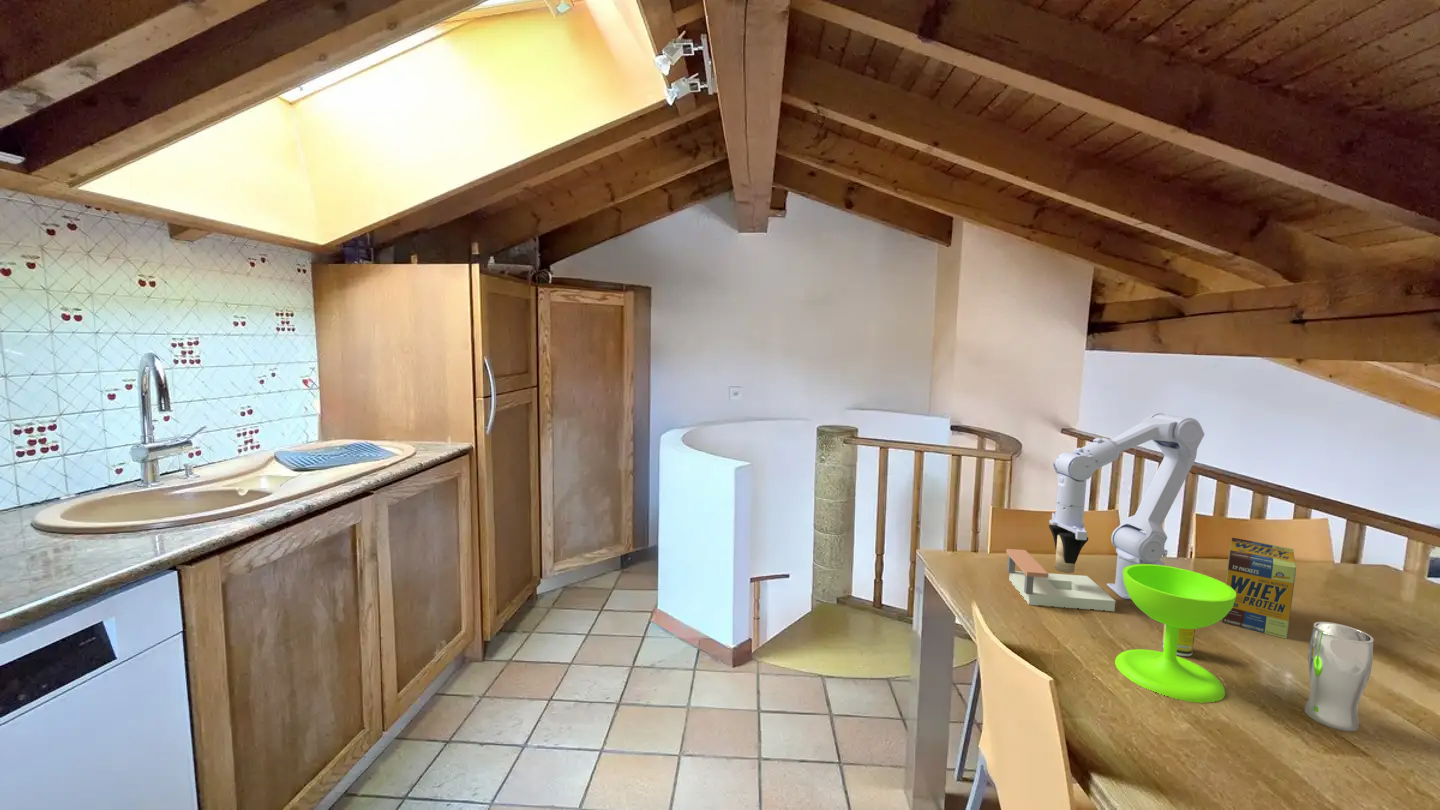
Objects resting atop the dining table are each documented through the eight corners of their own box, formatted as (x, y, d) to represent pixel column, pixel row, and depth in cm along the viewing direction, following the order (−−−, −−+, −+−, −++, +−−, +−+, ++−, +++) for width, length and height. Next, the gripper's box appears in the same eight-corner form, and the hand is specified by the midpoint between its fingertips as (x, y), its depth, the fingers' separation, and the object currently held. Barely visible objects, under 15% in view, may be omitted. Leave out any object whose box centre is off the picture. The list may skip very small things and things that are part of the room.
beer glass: (1288, 706, 97) (1299, 621, 95) (1326, 704, 97) (1337, 620, 96) (1335, 735, 90) (1348, 643, 88) (1376, 732, 91) (1389, 642, 89)
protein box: (1220, 623, 126) (1228, 554, 124) (1224, 600, 137) (1231, 536, 135) (1288, 640, 119) (1297, 567, 117) (1285, 614, 130) (1294, 547, 128)
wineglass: (1234, 714, 95) (1246, 610, 93) (1116, 683, 103) (1125, 586, 101) (1215, 668, 108) (1226, 575, 106) (1112, 644, 117) (1120, 558, 115)
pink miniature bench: (1023, 570, 147) (1025, 550, 146) (1046, 596, 132) (1048, 573, 132) (1005, 569, 148) (1006, 548, 147) (1025, 595, 133) (1027, 572, 132)
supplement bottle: (1198, 658, 112) (1202, 616, 111) (1170, 655, 112) (1174, 614, 112) (1183, 645, 116) (1187, 605, 115) (1157, 643, 117) (1160, 603, 116)
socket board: (1086, 585, 144) (1087, 575, 144) (1114, 611, 131) (1115, 600, 130) (1009, 580, 147) (1009, 570, 147) (1028, 604, 134) (1029, 594, 133)
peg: (1070, 566, 140) (1072, 534, 139) (1077, 573, 136) (1080, 540, 135) (1052, 565, 140) (1054, 533, 140) (1059, 572, 136) (1061, 539, 136)
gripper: (1040, 494, 144) (1036, 547, 146) (1064, 511, 130) (1060, 569, 131) (1071, 496, 143) (1066, 549, 144) (1099, 513, 129) (1094, 572, 130)
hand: (1065, 559), depth 138 cm, fingers closed on peg, 4 cm apart
